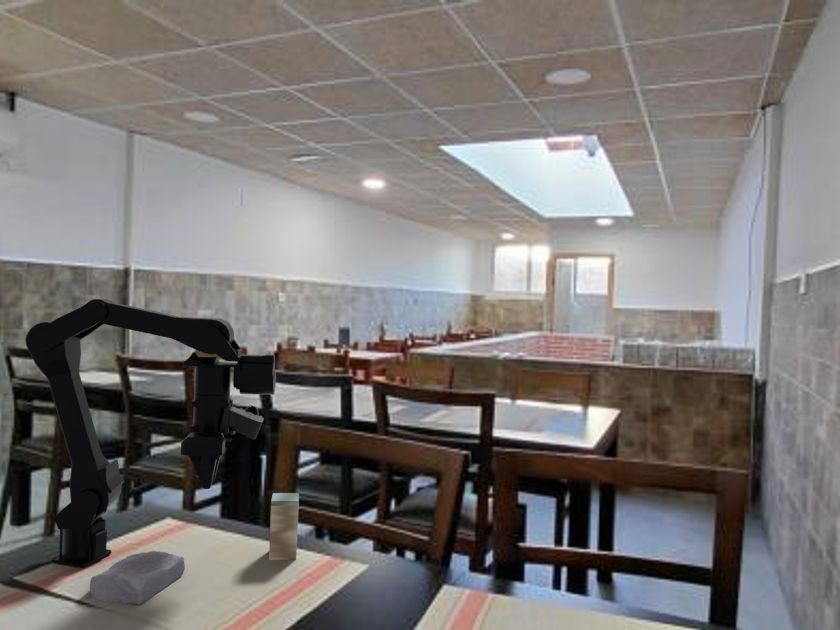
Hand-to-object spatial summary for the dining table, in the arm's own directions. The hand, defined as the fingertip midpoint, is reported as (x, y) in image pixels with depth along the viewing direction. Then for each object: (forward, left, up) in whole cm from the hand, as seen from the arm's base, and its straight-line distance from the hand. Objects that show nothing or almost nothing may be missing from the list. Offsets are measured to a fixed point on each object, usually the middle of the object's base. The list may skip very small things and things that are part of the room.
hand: (208, 485), depth 109 cm
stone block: (-3, -13, -12) cm, 18 cm away
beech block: (+12, +6, -12) cm, 18 cm away
